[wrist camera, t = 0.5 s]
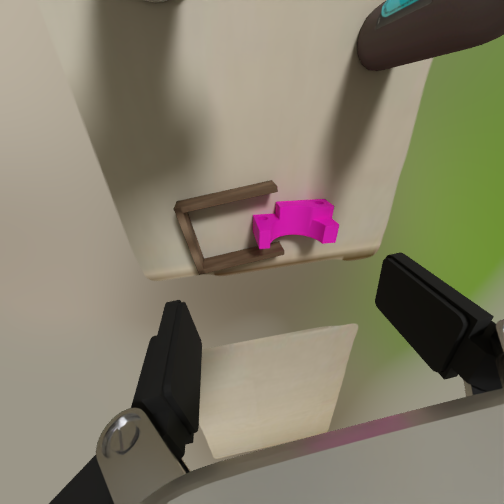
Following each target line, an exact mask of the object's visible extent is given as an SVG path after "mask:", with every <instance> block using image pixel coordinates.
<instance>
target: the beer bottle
mask: <svg viewBox="0 0 504 504" xmlns="http://www.w3.org/2000/svg"><path fill="white" fill-rule="evenodd" d="M502 35H504V0H386V1H385V2H383V3H382V4H381V5H379V6H378V7H377V8H375V9H374V11H373V12H372V13H371V14H370V15H369V16H368V17H367V18H366V20H365V22H364V24H363V26H362V28H361V30H360V34H359V38H358V43H357V45H358V56H359V59H360V61H361V63H362V65H363V66H364V67H366V68H367V69H368V70H375V71H378V70H385V69H389V68H393V67H397V66H401V65H405V64H409V63H413V62H417V61H421V60H425V59H429V58H433V57H437V56H441V55H444V54H449V53H452V52H457V51H460V50H464V49H468V48H472V47H475V46H479V45H482V44H484V43H487V42H489V41H492V40H494V39H496V38H498V37H500V36H502Z"/></svg>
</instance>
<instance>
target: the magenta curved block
mask: <svg viewBox="0 0 504 504" xmlns="http://www.w3.org/2000/svg"><path fill="white" fill-rule="evenodd" d="M333 210H334V206H333V205H332V204H331V203H329V202H328V201H327V200H325V199H315V200H298V201H280V202H276V208H275V214H260V215H253V233H254V236H255V239H256V241H257V244H258V247H259V249H266V248H270V243H271V242H272V241H273V240H274V239H275V238H277V237H280V236H284V235H304V236H308V237H311V238H314V239H316V240H318V241H320V242H321V243H322V244H323V243H335V242H336V237H337V233H338V228H339V224H338V223H337V222H335V221H334V220H333V219H332V215H333Z"/></svg>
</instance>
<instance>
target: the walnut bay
mask: <svg viewBox="0 0 504 504" xmlns="http://www.w3.org/2000/svg"><path fill="white" fill-rule="evenodd" d="M274 192H278V191H277V186H276V184H275V183H274V182H273V181H272V180H271V181H266V182H262V183H257V184H253V185H248V186H244V187H239V188H235V189H230V190H226V191H221V192H217V193H212V194H208V195H203V196H199V197H194V198H190V199H185V200H181V201H177V202H176V205H175V207H174V211H175V213H176V216H177V219H178V221H179V224H180V226H181V229H182V231H183V234H184V237H185V239H186V242H187V244H188V247H189V249H190V252H191V255H192V257H193V260H194V262H195V265H196V267H197V270H198V273H199V275H200V274H204V273H209V272H213V271H217V270H221V269H225V268H230V267H234V266H238V265H242V264H246V263H251V262H255V261H259V260H263V259H268V258H272V257H276V256H280V255H284V249H283V248H282V246H281V244H280V242H279V241H278V242H274V243H270V248H266V249H259V247H258V246H257V247H252V248H248V249H244V250H240V251H235V252H231V253H227V254H223V255H218V256H214V257H210V258H206V259H204V257H203V255H202V252H201V249H200V246H199V243H198V240H197V238H196V235H195V232H194V229H193V226H192V224H191V221H190V218H189V215H188V212H189V211H194V210H198V209H203V208H207V207H212V206H216V205H221V204H225V203H229V202H234V201H238V200H243V199H247V198H252V197H256V196H261V195H265V194H269V193H274Z"/></svg>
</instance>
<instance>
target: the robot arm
mask: <svg viewBox="0 0 504 504" xmlns="http://www.w3.org/2000/svg"><path fill="white" fill-rule="evenodd" d="M145 1H150V2H164V1H167V0H145ZM375 303H376V306H377V307H378V309H379V310H380V311H381V312H382V313H383V314H384V316H385V317H386V318H387V319H388V320H389V321H390V322H391V324H392V325H393V326H394V327H395V328H396V329H397V330H398V331H399V333H400V334H401V335H402V336H403V337H404V338H405V339H406V341H407V342H408V343H409V344H410V345H411V346H412V347H413V348H414V350H415V351H416V352H417V353H418V354H419V355H420V357H421V358H422V359H423V360H424V361H425V362H426V363H427V364H428V366H429V367H430V368H431V369H432V370H433V371H435V372H438V373H439V374H440V375H441V376H442V377H443V379H448V378H452V377H456V376H457V375H458V374H459V375H460V376H461V377H462V378H463V380H464V386H465V393H466V397H464V398H460V399H456V400H452V401H448V402H444V403H440V404H437V405H433V406H428V407H424V408H420V409H416V410H412V411H409V412H405V413H401V414H397V415H393V416H389V417H386V418H382V419H377V420H373V421H369V422H366V423H362V424H358V425H354V426H350V427H346V428H342V429H338V430H335V431H331V432H327V433H323V434H319V435H316V436H312V437H308V438H304V439H300V440H296V441H293V442H289V443H285V444H281V445H277V446H274V447H270V448H266V449H262V450H259V451H255V452H252V453H249V454H245V455H241V456H238V457H235V458H231V459H227V460H224V461H220V462H217V463H214V464H211V465H208V466H205V467H202V468H199V469H196V470H193V471H190V469H189V468H188V466H187V465H186V463H185V462H184V460H183V459H182V457H183V456H184V453H185V444H189V443H193V436H194V433H196V432H197V431H198V426H199V404H200V381H201V358H202V343H201V339H200V337H199V334H198V332H197V330H196V327H195V325H194V322H193V320H192V318H191V315H190V312H189V310H188V308H187V305H186V303H185V302H182V303H181V301H180V300H176V301H172V302H167V303H166V304H165V307H164V311H163V315H162V320H161V323H160V327H159V331H158V335H157V336H153V337H152V338H151V340H150V342H149V346H148V349H147V353H146V356H145V360H144V363H143V367H142V370H141V374H140V378H139V381H138V385H137V388H136V392H135V395H134V399H133V403H132V406H131V408H129V409H126V410H124V411H122V412H121V413H119V414H118V415H116V416H115V417H114V418H113V419H112V420H111V421H110V422H109V423H108V424H107V425H106V427H105V428H104V430H103V431H102V433H101V435H100V437H99V440H98V442H97V448H96V455H95V456H94V457H93V458H92V459H91V460H90V461H89V463H87V464H86V465H85V467H83V469H82V470H81V471H80V472H79V473H78V474H77V475H76V476H75V477H74V478H73V479H72V480H71V481H70V482H69V483H68V484H67V485H66V486H65V487H64V488H63V489H62V491H61V492H60V493H59V494H58V495H57V496H56V497H55V498H54V499H53V500H52V501H51V502H50V503H49V504H504V319H503V320H500V321H498V322H497V324H495V323H494V322H493V321H491V320H492V319H493V316H492V315H491V314H489V313H488V312H487V311H485V310H484V309H482V308H481V307H479V306H478V305H477V304H475V303H474V302H472V301H471V300H469V299H468V298H466V297H465V296H463V295H462V294H461V293H459V292H458V291H456V290H455V289H454V288H452V287H451V286H449V285H448V284H446V283H445V282H443V281H442V280H441V279H439V278H438V277H436V276H435V275H434V274H432V273H431V272H429V271H428V270H426V269H425V268H423V267H422V266H421V265H419V264H418V263H416V262H415V261H413V260H412V259H410V258H409V257H408V256H406V255H405V254H403V253H396V254H392V255H388V256H387V257H386V259H384V260H383V264H382V269H381V274H380V279H379V284H378V289H377V294H376V299H375Z"/></svg>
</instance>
